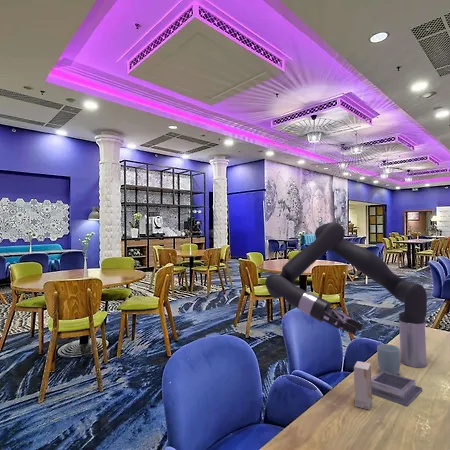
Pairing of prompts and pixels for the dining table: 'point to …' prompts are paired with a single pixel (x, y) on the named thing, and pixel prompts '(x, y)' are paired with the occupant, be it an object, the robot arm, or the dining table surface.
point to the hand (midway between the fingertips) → (359, 329)
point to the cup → (388, 358)
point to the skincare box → (363, 385)
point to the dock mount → (395, 388)
